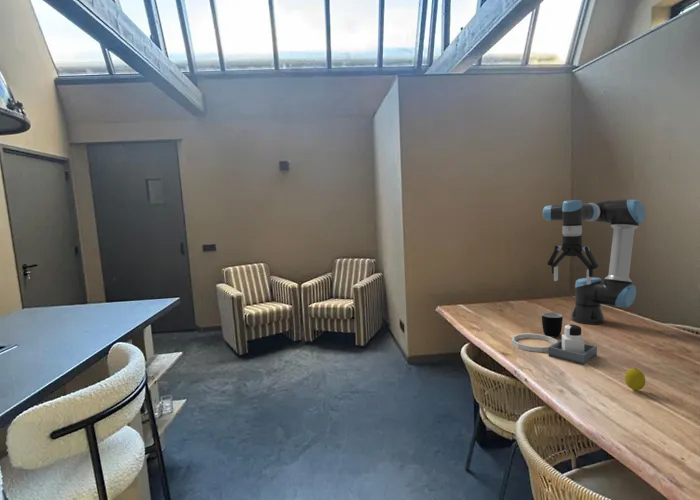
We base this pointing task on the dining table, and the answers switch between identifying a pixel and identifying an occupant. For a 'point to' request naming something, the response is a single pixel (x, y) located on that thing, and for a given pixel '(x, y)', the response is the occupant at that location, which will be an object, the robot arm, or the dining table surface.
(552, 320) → the mug
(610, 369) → the dining table surface
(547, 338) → the ring holder
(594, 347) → the tray
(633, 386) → the lemon
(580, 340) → the medicine bottle
